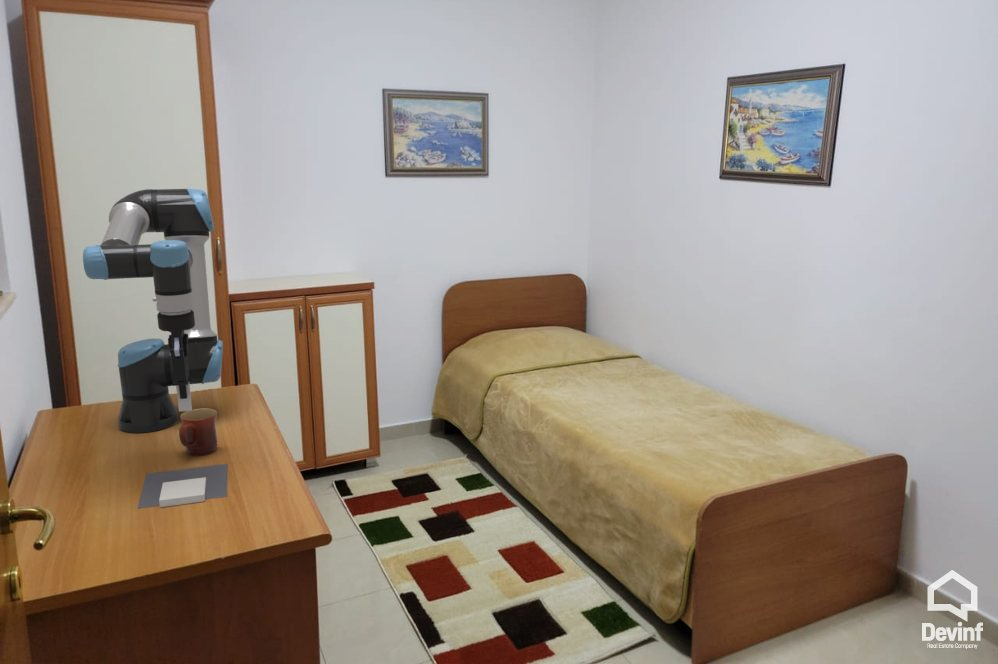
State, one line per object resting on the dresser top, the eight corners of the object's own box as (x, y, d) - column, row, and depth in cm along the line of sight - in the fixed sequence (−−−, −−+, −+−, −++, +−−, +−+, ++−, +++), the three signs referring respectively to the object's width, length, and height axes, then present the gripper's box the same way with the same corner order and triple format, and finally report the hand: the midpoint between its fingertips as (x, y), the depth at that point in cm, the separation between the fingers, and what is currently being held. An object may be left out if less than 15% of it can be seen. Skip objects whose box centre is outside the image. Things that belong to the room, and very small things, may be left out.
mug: (197, 443, 190) (193, 406, 187) (227, 446, 188) (224, 409, 186) (168, 462, 178) (163, 423, 176) (200, 466, 177) (196, 426, 174)
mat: (146, 475, 171) (146, 473, 171) (227, 465, 177) (227, 463, 177) (137, 510, 155) (137, 508, 155) (227, 498, 161) (226, 496, 161)
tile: (162, 482, 163) (159, 500, 155) (205, 477, 166) (204, 494, 158) (163, 489, 164) (159, 507, 155) (206, 483, 167) (205, 501, 158)
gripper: (159, 305, 166) (170, 401, 172) (153, 319, 154) (165, 422, 161) (195, 303, 168) (204, 398, 175) (191, 317, 156) (201, 418, 163)
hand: (185, 409), depth 168 cm, fingers closed
